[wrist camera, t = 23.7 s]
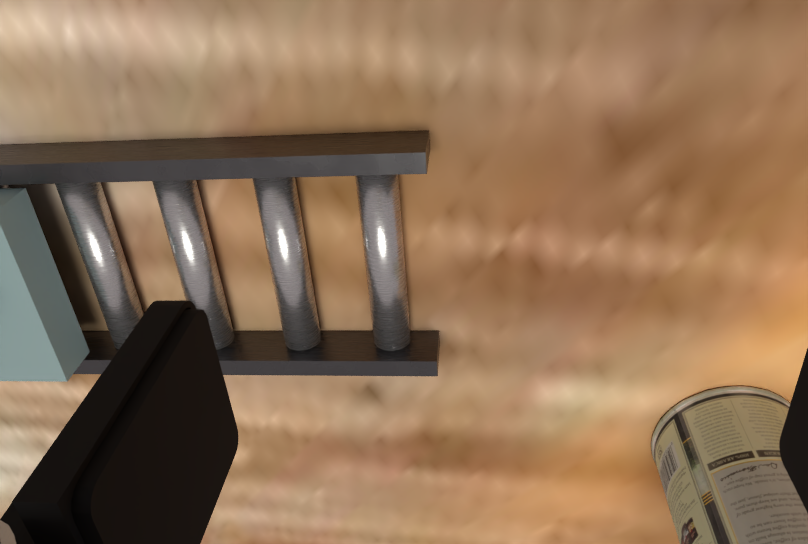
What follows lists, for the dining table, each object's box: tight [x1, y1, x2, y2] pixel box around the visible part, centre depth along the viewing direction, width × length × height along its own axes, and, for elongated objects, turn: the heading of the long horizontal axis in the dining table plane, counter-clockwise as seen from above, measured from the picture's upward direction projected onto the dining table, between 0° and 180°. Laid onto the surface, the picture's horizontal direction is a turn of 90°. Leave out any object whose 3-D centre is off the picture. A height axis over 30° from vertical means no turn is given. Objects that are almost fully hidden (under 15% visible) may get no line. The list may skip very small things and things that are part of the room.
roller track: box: [0, 131, 440, 376], centre depth 42 cm, size 15×38×5 cm, turn 94°
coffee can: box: [651, 386, 808, 544], centre depth 43 cm, size 10×10×14 cm
